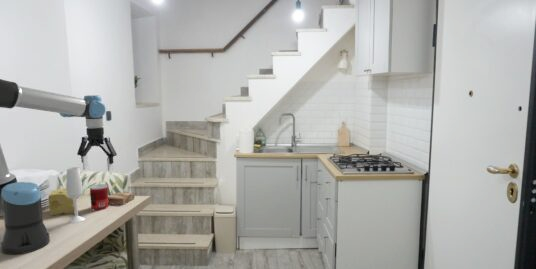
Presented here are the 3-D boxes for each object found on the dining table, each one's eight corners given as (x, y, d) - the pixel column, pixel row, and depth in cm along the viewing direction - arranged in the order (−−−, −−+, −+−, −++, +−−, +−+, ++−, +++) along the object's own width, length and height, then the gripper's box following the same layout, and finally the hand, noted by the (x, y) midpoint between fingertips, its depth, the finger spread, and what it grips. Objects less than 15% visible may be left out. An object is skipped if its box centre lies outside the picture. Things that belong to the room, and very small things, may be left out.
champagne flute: (65, 221, 154) (60, 169, 151) (78, 216, 160) (75, 166, 157) (74, 223, 151) (70, 170, 148) (88, 218, 157) (84, 167, 154)
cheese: (74, 213, 165) (73, 193, 163) (48, 216, 161) (46, 195, 159) (77, 206, 174) (76, 187, 173) (53, 209, 170) (51, 189, 169)
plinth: (123, 204, 176) (123, 198, 176) (106, 203, 178) (105, 197, 178) (134, 198, 186) (134, 193, 186) (118, 197, 188) (117, 191, 188)
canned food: (111, 205, 176) (110, 184, 175) (102, 210, 168) (101, 188, 167) (97, 204, 177) (96, 183, 175) (87, 210, 169) (86, 188, 167)
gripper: (122, 126, 168) (125, 169, 171) (78, 125, 173) (81, 166, 176) (112, 128, 161) (115, 172, 164) (66, 127, 166) (70, 170, 169)
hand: (98, 169), depth 170 cm, fingers open, 13 cm apart
